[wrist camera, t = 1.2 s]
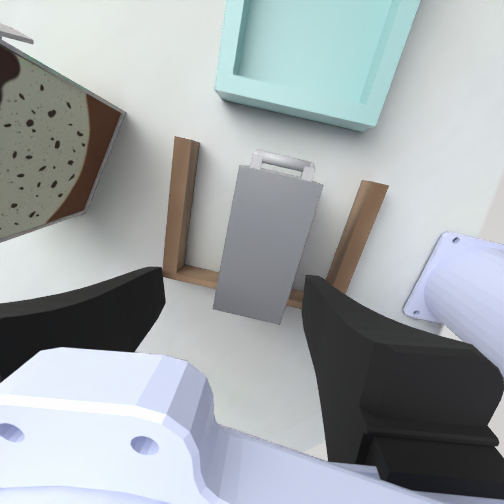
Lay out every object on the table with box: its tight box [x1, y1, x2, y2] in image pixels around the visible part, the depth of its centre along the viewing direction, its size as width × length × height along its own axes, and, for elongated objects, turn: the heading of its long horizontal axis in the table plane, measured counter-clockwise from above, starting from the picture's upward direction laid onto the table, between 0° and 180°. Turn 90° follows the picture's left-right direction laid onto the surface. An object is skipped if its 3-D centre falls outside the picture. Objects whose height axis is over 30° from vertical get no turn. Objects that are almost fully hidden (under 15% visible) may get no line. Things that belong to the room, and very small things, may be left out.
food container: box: [0, 23, 126, 243], centre depth 15 cm, size 12×6×10 cm, turn 147°
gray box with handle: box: [213, 150, 323, 325], centre depth 17 cm, size 4×10×7 cm, turn 168°
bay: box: [162, 136, 389, 309], centre depth 20 cm, size 15×11×2 cm
